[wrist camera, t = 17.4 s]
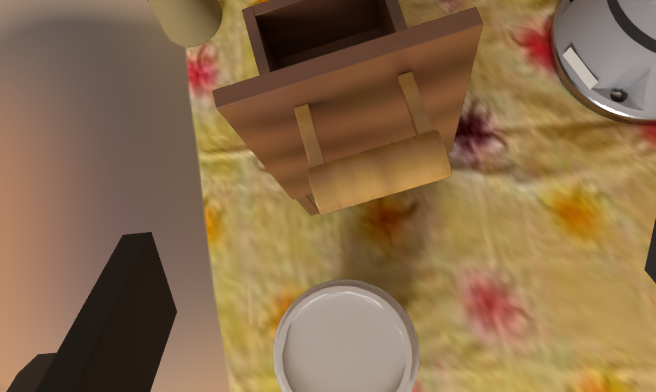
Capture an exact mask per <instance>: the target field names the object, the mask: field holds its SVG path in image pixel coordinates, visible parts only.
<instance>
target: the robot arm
mask: <svg viewBox="0 0 656 392" xmlns="http://www.w3.org/2000/svg"><path fill="white" fill-rule="evenodd" d="M549 50H550V55H551V60H552V63H553V66H554V68H555V71H556V73H557V75H558V77H559V78H560V80H561V82H562V83H563V84H564V86H565V87H566V88H567V90H568V91H569V92H570V93H571V94H572V95H573V96H574V97H575V98H576V99H577V100H578V101H579V102H581V103H582V104H583V105H585V106H586V107H588V108H589V109H591V110H592V111H594V112H596V113H598V114H600V115H602V116H604V117H607V118H610V119H612V120H616V121H619V122H624V123H629V124H637V125H656V0H561V1H560V3H559V5H558V7H557V9H556V11H555V13H554V15H553V18H552V21H551V26H550V31H549ZM645 271H646V272H647V273H648V275H649V276H650V277H651V278H652V279H653V281H654V282H655V283H656V220H655V224H654V229H653V233H652V238H651V243H650V247H649V252H648V256H647V261H646V266H645ZM176 313H177V310H176V307H175V304H174V301H173V298H172V295H171V291H170V288H169V285H168V282H167V279H166V276H165V273H164V270H163V267H162V263H161V261H160V257H159V254H158V251H157V248H156V245H155V242H154V239H153V236H152V232H147V233H137V234H126V235H123V236H122V237H121V239H120V241H119V243H118V244H117V246H116V248H115V250H114V252H113V253H112V255H111V257H110V259H109V261H108V262H107V264H106V266H105V268H104V269H103V271H102V273H101V275H100V277H99V278H98V280H97V282H96V284H95V286H94V287H93V289H92V291H91V293H90V294H89V296H88V298H87V300H86V302H85V303H84V305H83V307H82V309H81V310H80V312H79V314H78V316H77V318H76V319H75V321H74V323H73V325H72V327H71V328H70V330H69V332H68V334H67V335H66V337H65V339H64V341H63V343H62V344H61V346H60V348H59V350H58V352H57V353H48V354H38V355H37V356H36V357H35V358H34V359H33V360H32V361H31V362H30V363H28V364H27V365H26V366H25V367H24V368H23V369H22V370H21V371H20V372H19V373H18V374H17V375H16V377H15V379H14V380H13V382H12V384H11V386H10V387H9V388H8V390H7V392H150V391H151V388H152V385H153V382H154V379H155V376H156V373H157V370H158V367H159V364H160V361H161V358H162V355H163V352H164V349H165V346H166V343H167V340H168V337H169V334H170V331H171V328H172V325H173V322H174V319H175V316H176Z"/></svg>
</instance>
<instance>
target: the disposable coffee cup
mask: <svg viewBox="0 0 656 392" xmlns="http://www.w3.org/2000/svg"><path fill="white" fill-rule="evenodd" d="M419 358H420V356H419V345H418V339H417V335H416V332H415V329H414V326H413V324H412V322H411V320H410V318H409V316H408V315H407V313H406V312H405V310H404V309H403V308H402V306H401V305H400V304H399V303H398V302H397V301H396V300H395V299H394V298H393V297H392V296H391V295H389V294H388V293H387V292H385V291H384V290H382V289H380V288H378V287H376V286H374V285H372V284H369V283H366V282H364V281H358V280H351V279H340V280H332V281H328V282H324V283H321V284H318V285H316V286H314V287H312V288H310V289H308V290H307V291H306V292H304V293H303V294H302V295H300V296H299V297H298V298H297V299H296V300H295V301H294V302H293V303H292V304H291V305H290V306H289V307H288V309H287V310H286V312H285V314H284V315H283V317H282V319H281V321H280V323H279V326H278V328H277V331H276V335H275V339H274V346H273V364H274V369H275V374H276V378H277V381H278V383H279V386H280V388H281V390H282V392H411V391H412V389H413V386H414V383H415V380H416V378H417V375H418V367H419Z"/></svg>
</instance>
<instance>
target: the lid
mask: <svg viewBox="0 0 656 392" xmlns="http://www.w3.org/2000/svg"><path fill="white" fill-rule="evenodd" d="M482 27H483V23H482V20H481V18H480V15H479V13H478V10H477V8H476V7H474V8H471V9H468V10H465V11H462V12H458V13H455V14H452V15H449V16H446V17H443V18H440V19H436V20H433V21H430V22H427V23H424V24H421V25H417V26H414V27H411V28H408V29H405V30H402V31H399V32H395V33H392V34H389V35H386V36H383V37H380V38H377V39H373V40H370V41H367V42H364V43H361V44H358V45H354V46H351V47H348V48H345V49H342V50H339V51H336V52H332V53H329V54H326V55H323V56H320V57H317V58H314V59H310V60H307V61H304V62H301V63H298V64H295V65H291V66H288V67H285V68H282V69H279V70H276V71H273V72H269V73H266V74H263V75H260V76H257V77H254V78H251V79H247V80H244V81H241V82H238V83H235V84H232V85H228V86H225V87H222V88H219V89H216V90H213V91H212V92H213V96H214V101H215V105H216V108H217V110H218V111H219V112H220V113H221V114H222V116H223V117H224V118H225V119H226V120H227V122H228V123H229V124H230V125H231V126H232V128H233V129H234V130H235V131H236V132H237V134H238V135H239V136H240V137H241V139H242V140H243V141H244V142H245V143H246V145H247V146H248V147H249V148H250V149H251V151H252V152H253V153H254V154H255V155H256V157H257V158H258V159H259V160H260V161H261V163H262V164H263V165H264V166H265V167H266V169H267V170H268V171H269V172H270V173H271V175H272V176H273V177H274V178H275V179H276V181H277V182H278V183H279V184H280V186H281V187H282V188H283V189H284V190H285V192H286V193H287V194H288V195H289V196H290V198H291V199H292V200H293V199H296V198H299V197H303V196H306V195H309V194H313V196H314V199H315V202H316V205H317V208H318V210H319V212H320V214H321V215H324V214H328V213H331V212H334V211H338V210H341V209H344V208H348V207H351V206H354V205H358V204H361V203H364V202H368V201H371V200H375V199H378V198H381V197H385V196H388V195H391V194H395V193H398V192H401V191H405V190H408V189H411V188H415V187H418V186H421V185H425V184H428V183H431V182H435V181H438V180H441V179H445V178H448V177H450V176H451V165H450V160H449V156H448V152H451V150H452V146H453V142H454V138H455V134H456V130H457V126H458V122H459V118H460V114H461V110H462V106H463V102H464V98H465V94H466V90H467V86H468V82H469V78H470V74H471V70H472V66H473V62H474V59H475V55H476V51H477V47H478V43H479V39H480V35H481V31H482Z"/></svg>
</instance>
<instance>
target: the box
mask: <svg viewBox="0 0 656 392" xmlns="http://www.w3.org/2000/svg"><path fill="white" fill-rule="evenodd" d="M242 12H243V16H244V20H245V24H246V27H247V31H248V35H249V38H250V42H251V46H252V49H253V53H254V57H255V61H256V64H257V68H258V72H259V75H263V74H266V73H269V72H273V71H276V70H279V69H282V68H285V67H288V66H291V65H295V64H298V63H301V62H304V61H307V60H310V59H314V58H317V57H320V56H323V55H326V54H329V53H332V52H336V51H339V50H342V49H345V48H348V47H351V46H354V45H358V44H361V43H364V42H367V41H370V40H373V39H377V38H380V37H383V36H386V35H389V34H392V33H395V32H399V31H402V30H405V29H407V27H406V24H405V21H404V18H403V15H402V12H401V9H400V6H399V3H398V1H397V0H270V1H267V2H263V3H260V4H257V5H254V6H253V7H248V8H245V9H243V10H242ZM296 200H297V201H298V202H299V203H300V204H301V206H302V207H303V208H304V209H305V210H306V211H307V212H308V213H309V214H310V215H311V216H312V215H315V214H318V213H320V212H319V210H318V208H317V205H316V202H315V199H314V196H313V194H309V195H306V196H303V197H299V198H296Z"/></svg>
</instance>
